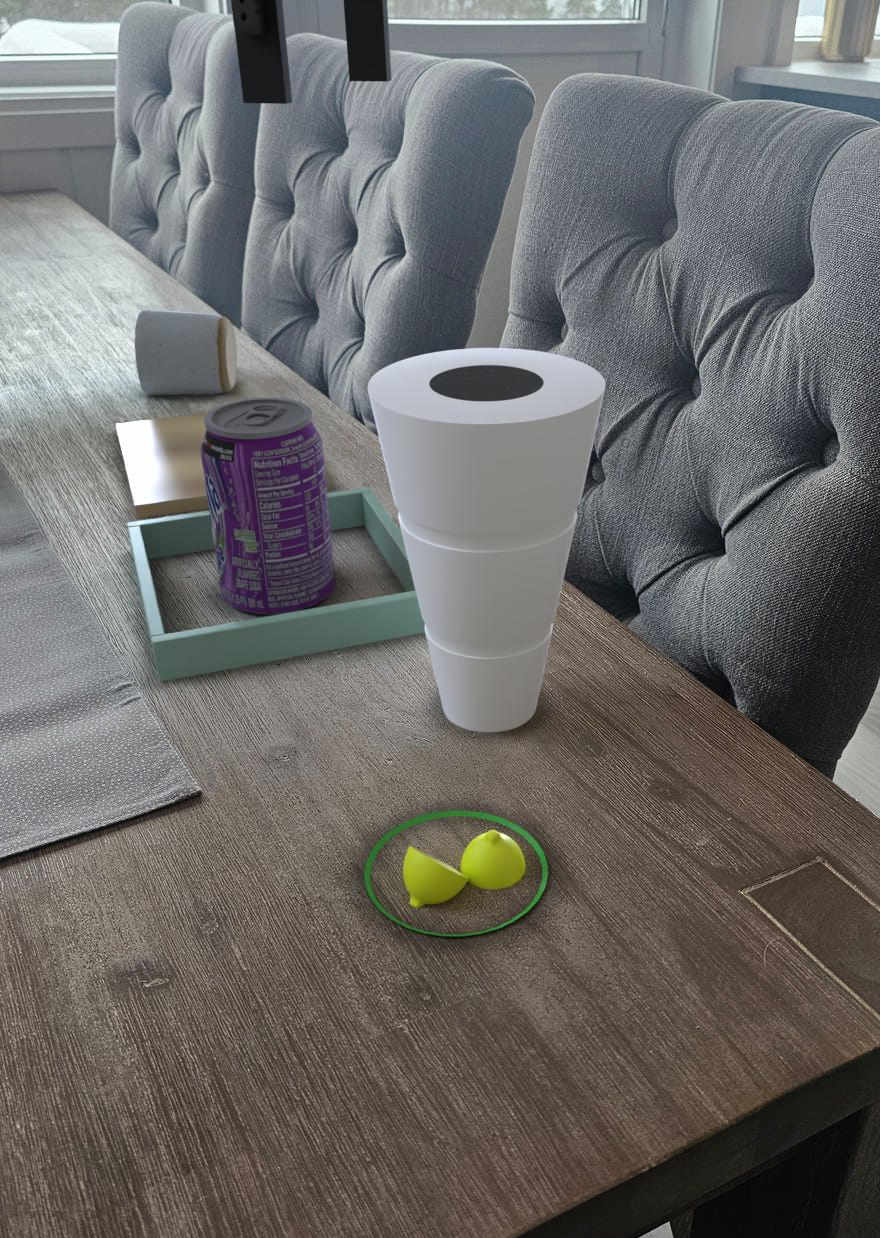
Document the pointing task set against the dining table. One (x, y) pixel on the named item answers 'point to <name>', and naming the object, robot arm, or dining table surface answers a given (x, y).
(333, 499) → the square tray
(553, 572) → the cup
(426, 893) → the green round dish
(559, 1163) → the dining table surface
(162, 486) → the birch board
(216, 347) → the ceramic mug
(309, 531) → the beverage can
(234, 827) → the dining table surface
